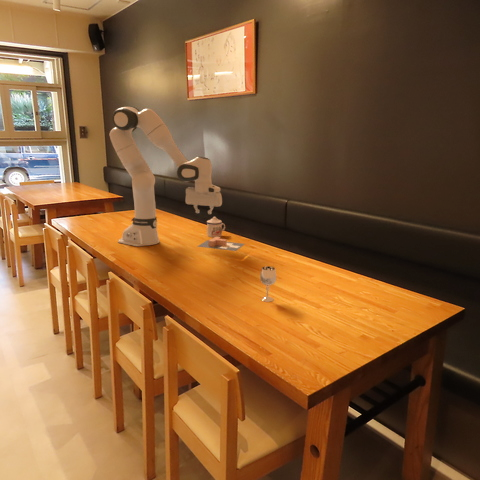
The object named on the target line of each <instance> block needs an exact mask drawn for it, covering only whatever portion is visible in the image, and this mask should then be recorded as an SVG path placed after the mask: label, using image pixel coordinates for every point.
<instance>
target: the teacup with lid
mask: <svg viewBox="0 0 480 480" xmlns="http://www.w3.org/2000/svg"><path fill="white" fill-rule="evenodd" d="M222 226H223V227H222ZM225 229H226V225H225V223H223V222H222V220H221V219H218V218H217V217H216V216H213V217H212V218H210V219H208V220H206V235H207V237H210V238H214V237H222V233H223V231H225Z"/></svg>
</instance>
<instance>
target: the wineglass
mask: <svg viewBox="0 0 480 480" xmlns="http://www.w3.org/2000/svg"><path fill="white" fill-rule="evenodd" d="M276 271H277V270H276V267H273V266H268V265H267V266H262V268H261V270H260V274H259V275H260V277H259V279H260V282H261V284H263V285H265V286H266V296H263V297H261V299H260V300H261V301H262V302H266V303H269V302H273V301H274V298H273V297H271V296H269V290H270V286H272V285H274V284H275V283H276V280H277V272H276Z"/></svg>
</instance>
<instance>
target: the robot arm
mask: <svg viewBox="0 0 480 480" xmlns="http://www.w3.org/2000/svg"><path fill="white" fill-rule="evenodd" d="M111 117H112V120H111V121H112V123H113V126H114V127H113V128H112V129H111V130H110V131H109V138H110V142H111V145H112V147H113V148H114V151H115V154H116V155H117V157H118V158H119V160H120V162H121V164H122V166H123V168H125V170H126V172H127V173H128V174H129V176H130V177H131V185H132V186H131V187H132V197H133V203H134V204H133V205H134V206H133V207H134V217H132V218H131V219H130V222H132V224H130V225H129V226H128V227H126V228H125V229H124V230H123V232H122V236H121V238H120V239H118V241H117V242H118V244H123V245H129V246H134V247H143V246H145V247H146V246H151V245H152V246H153V245H157V244H159V243H160V239H159V236H158V235H159V234H158V227H157V226H158V223H157V222H158V220H157V219H158V218H157V216H156V214H157V212H156V210H157V209H156V198H155V197H156V195H155V184H156V178H155V175H154V174H153V172H152V170H151V168H150V166H149V164H148V163H147V161H146V160H145V158H144V157H143V154H142V153H141V150H140V149H139V147H138V145H137V143H136V140H135V139H134V137H133V133H132V132H134V131H135V130H136V129H137V128H139V129H141V131H142V132H143V133H144V134H145V136H146V138H148V141H150V142H151V143H152V144H153V145H154V146H155V147H156V148H159V149H161V150H162V151H164V152H165V153H166V154H167V155H168V156H169V157H170V159H171V160H172V161H173V163H174V164H175V165H176V167H177V169H176V176H177V177H178V179H179V180H180V181H182V182H185V183H188V182H192V181H194V187H193V186H188V187H186V188H185V204H187V205H193V209H194V210H195V213H196V214H200V209H198V206H205V207H206V206H209V209H208V210H207V214H208V215H212V213H213V210H214V207H221V206H222V205H223V197H222V193H221V187H220V186H217V185H214V184H213V183H212V182H213V181H212V173H213V172H212V171H213V168H212V161H211V160H210V159H209V158H208V157H204V156H198V155H197V156H196V157H195V158H193V159H191V160H188V159H187V157H185V156H184V154H183V153H182V152H181V150H180V148H179V147H178V146H177V144H176V142H175V141H174V138H173V136H172V134H171V131H170V130H169V128H168V126H167V125H166V123H165V122H164V121H163V120H162V118H161V117H160V116H159V115H158V114H157V113H156V112H155V111H154V110H153V109H151V108H144V109H142V110H141V111H140V110H139V109H138V108H137V107H135V106H123V107H119V108H117V109H115V110H114V111H113V113H112V116H111Z"/></svg>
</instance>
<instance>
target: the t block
mask: <svg viewBox="0 0 480 480" xmlns="http://www.w3.org/2000/svg"><path fill="white" fill-rule="evenodd" d="M221 237H222V236H220V237H212V238H210V239H208V240H209V241H208V246H210V247H214V246H216V245H218V246H226V245H227V242H228V240H227V239H225V238H221Z"/></svg>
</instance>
